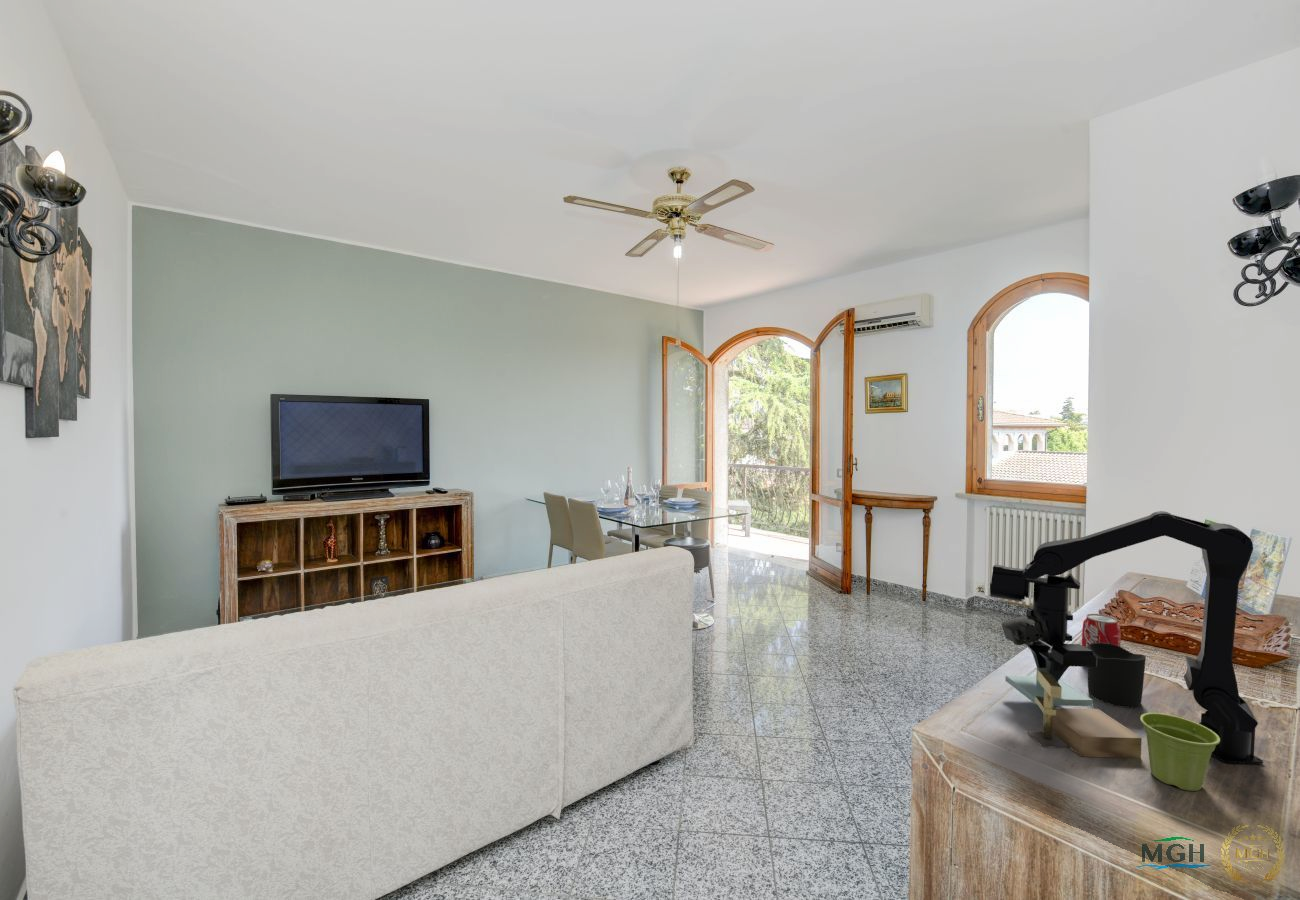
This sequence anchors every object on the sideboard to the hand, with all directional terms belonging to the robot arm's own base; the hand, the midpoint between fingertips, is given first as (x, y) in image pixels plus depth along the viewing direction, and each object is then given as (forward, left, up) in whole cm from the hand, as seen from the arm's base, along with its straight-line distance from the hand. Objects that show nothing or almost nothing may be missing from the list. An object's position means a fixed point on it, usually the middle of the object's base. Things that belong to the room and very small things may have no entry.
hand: (1047, 682), depth 115 cm
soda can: (-25, -20, -6) cm, 32 cm away
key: (+8, +12, -5) cm, 15 cm away
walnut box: (+2, +12, -5) cm, 13 cm away
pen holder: (-17, -5, -6) cm, 18 cm away
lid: (0, 0, -2) cm, 2 cm away
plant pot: (-6, +23, -6) cm, 24 cm away
